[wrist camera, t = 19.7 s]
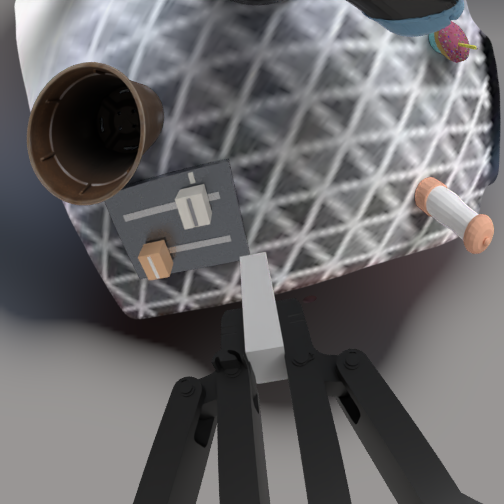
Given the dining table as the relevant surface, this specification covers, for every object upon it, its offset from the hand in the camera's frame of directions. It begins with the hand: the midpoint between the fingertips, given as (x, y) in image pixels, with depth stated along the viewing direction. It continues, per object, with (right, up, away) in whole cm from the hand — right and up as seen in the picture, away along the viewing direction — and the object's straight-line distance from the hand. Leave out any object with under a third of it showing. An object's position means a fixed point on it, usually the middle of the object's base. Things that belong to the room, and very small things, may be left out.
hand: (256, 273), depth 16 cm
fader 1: (-17, +1, +30) cm, 35 cm away
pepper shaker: (+35, +13, +30) cm, 48 cm away
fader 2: (-9, +9, +26) cm, 29 cm away
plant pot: (-20, +22, +19) cm, 35 cm away
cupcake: (+34, +40, +12) cm, 54 cm away
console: (-13, +6, +30) cm, 33 cm away
